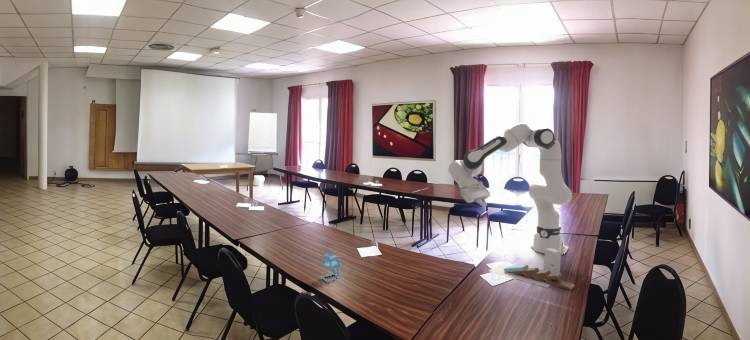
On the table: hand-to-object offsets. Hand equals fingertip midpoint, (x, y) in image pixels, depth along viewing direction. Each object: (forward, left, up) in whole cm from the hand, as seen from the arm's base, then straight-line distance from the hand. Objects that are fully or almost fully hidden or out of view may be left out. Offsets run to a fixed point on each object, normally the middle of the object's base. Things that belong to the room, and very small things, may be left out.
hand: (485, 206), depth 195 cm
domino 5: (+8, +37, -28) cm, 47 cm away
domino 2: (+8, +21, -28) cm, 36 cm away
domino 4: (+8, +32, -28) cm, 43 cm away
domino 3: (+8, +27, -28) cm, 39 cm away
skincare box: (-4, +33, -30) cm, 45 cm away
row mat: (+8, +24, -29) cm, 39 cm away
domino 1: (+8, +16, -28) cm, 33 cm away
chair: (+73, -37, -30) cm, 88 cm away
